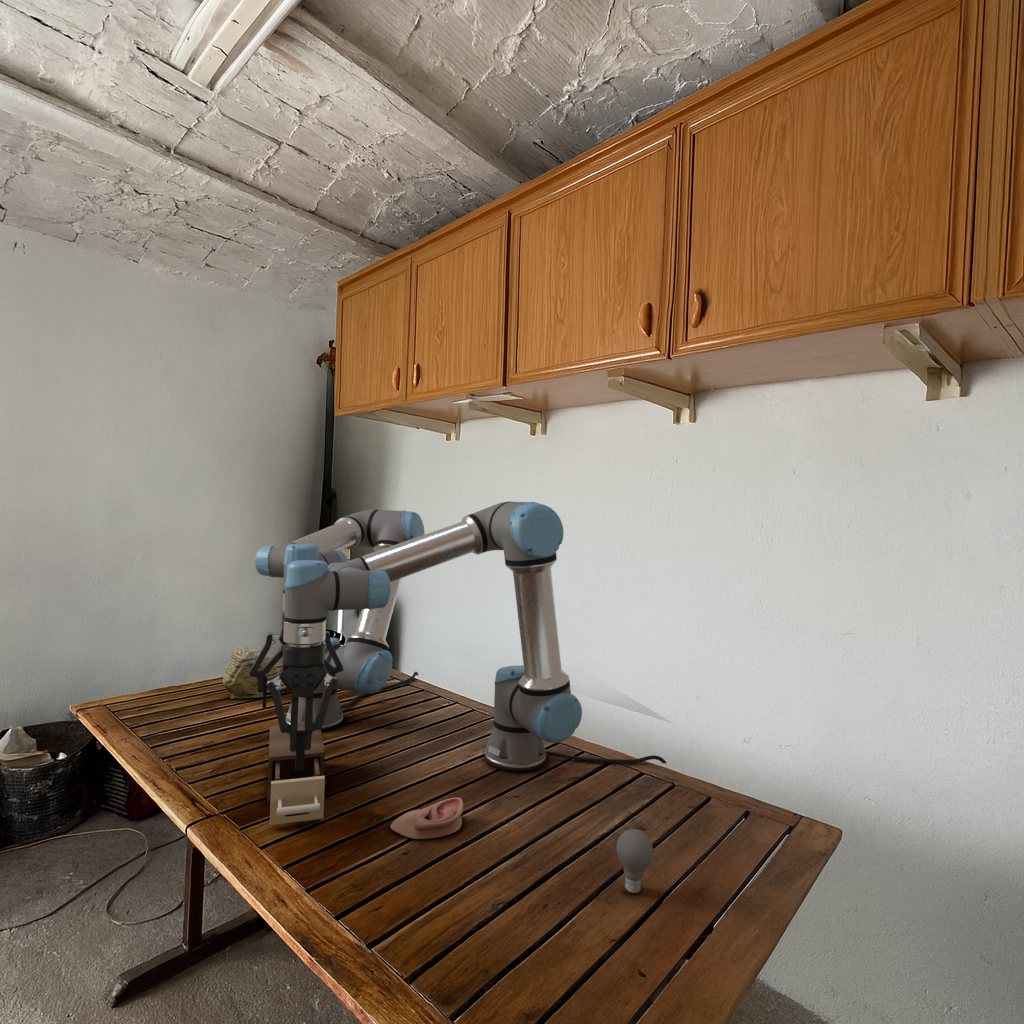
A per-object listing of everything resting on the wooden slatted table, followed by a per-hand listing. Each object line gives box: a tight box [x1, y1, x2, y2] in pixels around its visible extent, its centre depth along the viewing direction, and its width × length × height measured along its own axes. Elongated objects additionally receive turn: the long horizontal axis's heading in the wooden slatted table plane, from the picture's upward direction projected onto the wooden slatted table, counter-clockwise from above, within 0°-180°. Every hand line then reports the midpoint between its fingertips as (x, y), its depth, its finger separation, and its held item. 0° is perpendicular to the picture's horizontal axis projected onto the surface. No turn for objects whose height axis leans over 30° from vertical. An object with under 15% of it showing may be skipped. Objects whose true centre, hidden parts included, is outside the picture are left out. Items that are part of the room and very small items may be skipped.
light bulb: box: [615, 828, 654, 894], centre depth 106 cm, size 6×6×10 cm
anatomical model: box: [390, 797, 464, 840], centre depth 124 cm, size 13×4×12 cm
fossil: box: [222, 646, 287, 699], centre depth 198 cm, size 9×18×15 cm, turn 132°
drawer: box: [269, 757, 326, 826], centre depth 127 cm, size 22×10×8 cm, turn 20°
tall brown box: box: [266, 724, 326, 805], centre depth 140 cm, size 18×11×10 cm, turn 20°
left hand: (296, 704), depth 145 cm, fingers open, 13 cm apart
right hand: (299, 767), depth 119 cm, fingers closed
